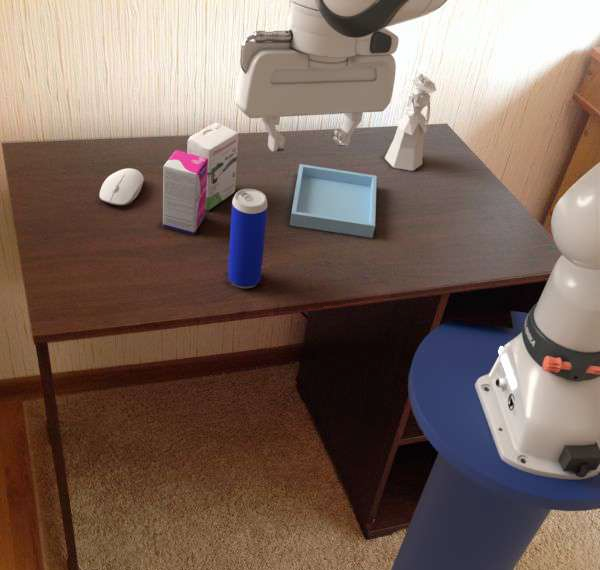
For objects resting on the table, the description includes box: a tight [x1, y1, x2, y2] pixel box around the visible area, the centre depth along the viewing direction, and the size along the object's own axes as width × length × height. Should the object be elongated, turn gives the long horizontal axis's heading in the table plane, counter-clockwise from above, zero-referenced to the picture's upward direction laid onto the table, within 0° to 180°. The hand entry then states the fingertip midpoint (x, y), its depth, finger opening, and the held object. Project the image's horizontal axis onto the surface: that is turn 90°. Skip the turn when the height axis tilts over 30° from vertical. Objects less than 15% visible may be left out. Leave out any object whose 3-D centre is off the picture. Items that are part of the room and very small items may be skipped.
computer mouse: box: [98, 167, 145, 207], centre depth 130 cm, size 6×10×3 cm, turn 164°
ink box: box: [186, 122, 239, 212], centre depth 130 cm, size 9×5×12 cm, turn 149°
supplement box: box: [162, 149, 208, 235], centre depth 124 cm, size 6×6×12 cm
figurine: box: [384, 72, 437, 172], centre depth 144 cm, size 7×8×18 cm
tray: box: [289, 163, 378, 239], centre depth 136 cm, size 17×15×2 cm
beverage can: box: [227, 188, 269, 289], centre depth 114 cm, size 5×5×15 cm
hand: (308, 147), depth 96 cm, fingers open, 8 cm apart
